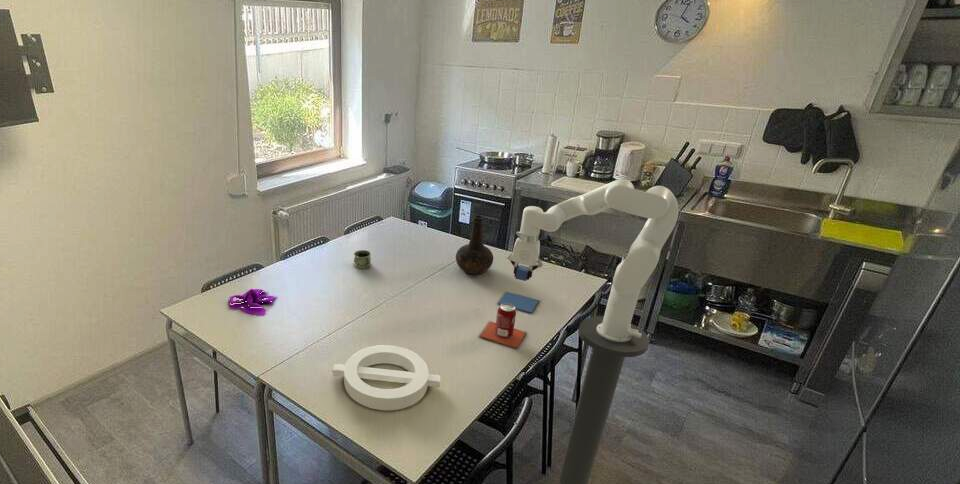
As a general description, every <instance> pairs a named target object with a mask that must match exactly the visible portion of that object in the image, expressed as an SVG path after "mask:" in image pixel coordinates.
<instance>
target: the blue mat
mask: <svg viewBox="0 0 960 484" xmlns="http://www.w3.org/2000/svg"><path fill="white" fill-rule="evenodd" d="M539 302H540V299H537V298H533V297H529V296H524V295H522V294H517V293H513V292H509V291H506V292H505V294H503V296H502V298H501V299H500V301H499V302H498V305H499V306H500V305H501V304H504V303H507V304H511V305H513V306H514V307H515V310H517V311H520V312H525V313H528V314H532V313H533V312H534V310H535V308H536V307H537V305H538V303H539Z"/></svg>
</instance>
